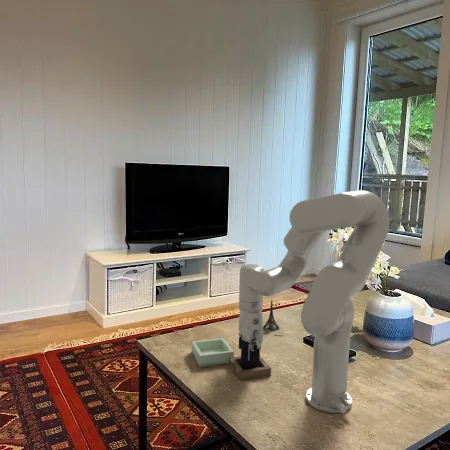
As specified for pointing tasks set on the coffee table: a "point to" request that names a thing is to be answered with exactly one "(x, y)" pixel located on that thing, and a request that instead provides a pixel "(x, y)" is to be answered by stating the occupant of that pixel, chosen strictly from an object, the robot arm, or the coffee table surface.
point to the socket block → (249, 373)
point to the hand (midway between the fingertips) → (248, 354)
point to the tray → (212, 352)
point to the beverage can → (246, 355)
